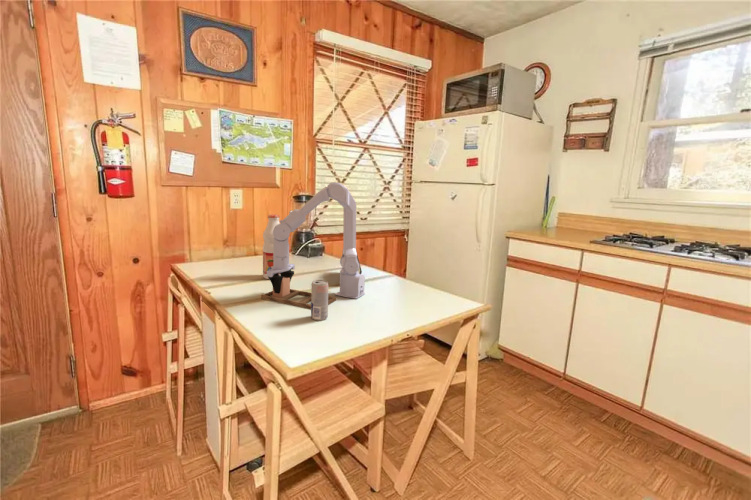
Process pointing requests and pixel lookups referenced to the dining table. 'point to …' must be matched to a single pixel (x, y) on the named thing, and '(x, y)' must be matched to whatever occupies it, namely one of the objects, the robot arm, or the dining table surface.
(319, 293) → the energy drink
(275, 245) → the robot arm
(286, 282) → the terracotta block
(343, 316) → the dining table surface
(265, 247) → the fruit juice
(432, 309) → the dining table surface
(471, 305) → the dining table surface
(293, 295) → the wooden divided frame
